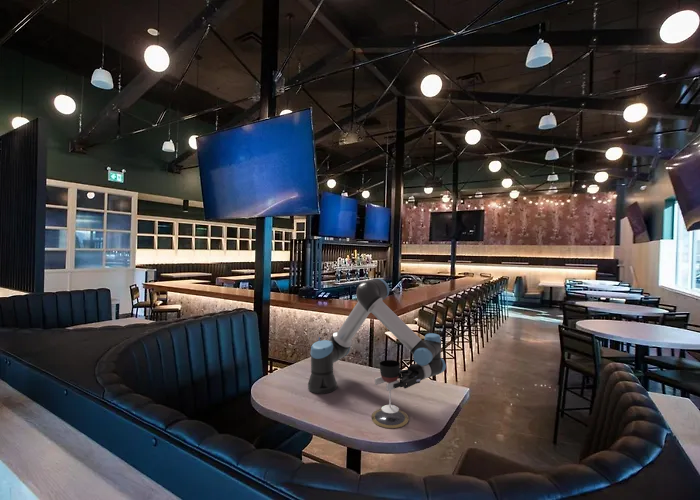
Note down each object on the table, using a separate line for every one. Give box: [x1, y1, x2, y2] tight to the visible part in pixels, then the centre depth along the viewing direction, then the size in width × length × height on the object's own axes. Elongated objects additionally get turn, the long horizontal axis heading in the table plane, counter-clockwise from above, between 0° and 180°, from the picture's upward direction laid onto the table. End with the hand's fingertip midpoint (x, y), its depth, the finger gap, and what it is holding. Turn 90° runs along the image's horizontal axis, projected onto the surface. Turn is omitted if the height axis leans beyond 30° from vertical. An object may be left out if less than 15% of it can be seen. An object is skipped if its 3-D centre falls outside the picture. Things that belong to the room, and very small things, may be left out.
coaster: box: [371, 408, 410, 429], centre depth 150 cm, size 16×16×1 cm
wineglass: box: [379, 359, 401, 413], centre depth 149 cm, size 8×9×20 cm
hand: (381, 384), depth 146 cm, fingers closed on wineglass, 7 cm apart
